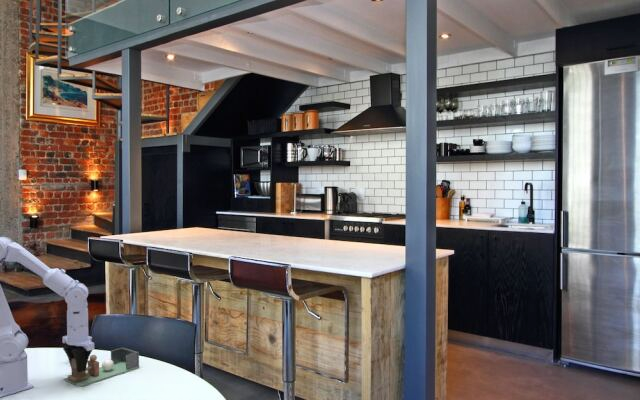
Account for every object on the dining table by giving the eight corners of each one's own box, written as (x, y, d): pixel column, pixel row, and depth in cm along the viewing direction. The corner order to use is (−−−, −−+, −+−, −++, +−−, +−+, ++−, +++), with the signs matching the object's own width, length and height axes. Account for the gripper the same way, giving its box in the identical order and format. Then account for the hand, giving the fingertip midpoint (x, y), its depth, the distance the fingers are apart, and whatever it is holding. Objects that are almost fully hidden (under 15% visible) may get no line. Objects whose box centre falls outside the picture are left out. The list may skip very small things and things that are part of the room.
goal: (127, 371, 161) (126, 355, 161) (111, 366, 166) (110, 350, 166) (139, 367, 165) (138, 352, 164) (122, 362, 170) (122, 347, 170)
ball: (105, 373, 158) (105, 362, 158) (99, 371, 160) (99, 360, 160) (116, 370, 161) (116, 359, 161) (109, 368, 163) (109, 357, 163)
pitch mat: (81, 387, 148) (81, 385, 148) (63, 380, 154) (63, 378, 154) (138, 368, 164) (138, 366, 164) (120, 362, 170) (120, 361, 170)
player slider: (75, 382, 150) (74, 361, 150) (68, 379, 152) (67, 358, 152) (100, 374, 156) (99, 354, 156) (93, 371, 159) (92, 352, 159)
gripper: (103, 325, 152) (104, 371, 152) (77, 318, 160) (78, 361, 160) (80, 330, 146) (81, 378, 146) (55, 323, 155) (56, 368, 155)
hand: (78, 370), depth 153 cm, fingers closed on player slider, 3 cm apart
